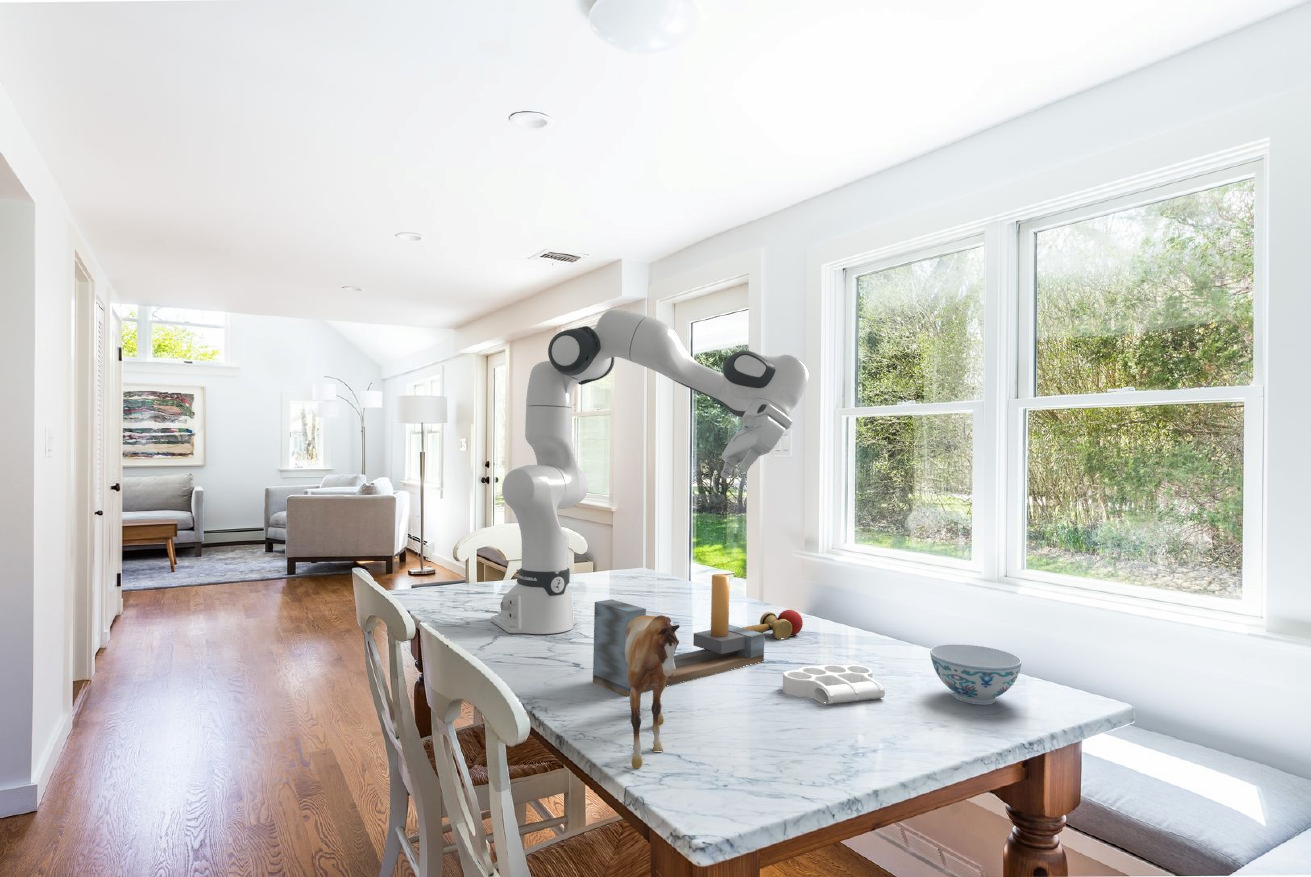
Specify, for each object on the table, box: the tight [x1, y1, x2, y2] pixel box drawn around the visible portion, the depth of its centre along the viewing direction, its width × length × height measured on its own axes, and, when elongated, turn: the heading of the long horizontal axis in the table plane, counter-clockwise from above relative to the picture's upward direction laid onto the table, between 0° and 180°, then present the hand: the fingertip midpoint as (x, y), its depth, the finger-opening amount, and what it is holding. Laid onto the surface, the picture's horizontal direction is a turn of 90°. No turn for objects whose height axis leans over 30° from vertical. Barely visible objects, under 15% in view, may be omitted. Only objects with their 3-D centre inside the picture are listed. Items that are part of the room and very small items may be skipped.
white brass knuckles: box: [782, 664, 886, 706], centre depth 136 cm, size 3×18×15 cm
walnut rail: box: [592, 599, 765, 697], centre depth 145 cm, size 11×36×15 cm, turn 131°
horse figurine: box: [625, 614, 681, 769], centre depth 112 cm, size 31×8×21 cm, turn 0°
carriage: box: [692, 573, 746, 654], centre depth 152 cm, size 8×7×14 cm
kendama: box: [741, 609, 804, 640], centre depth 174 cm, size 8×6×18 cm
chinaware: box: [929, 643, 1022, 706], centre depth 133 cm, size 15×15×8 cm
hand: (732, 474), depth 156 cm, fingers open, 8 cm apart
